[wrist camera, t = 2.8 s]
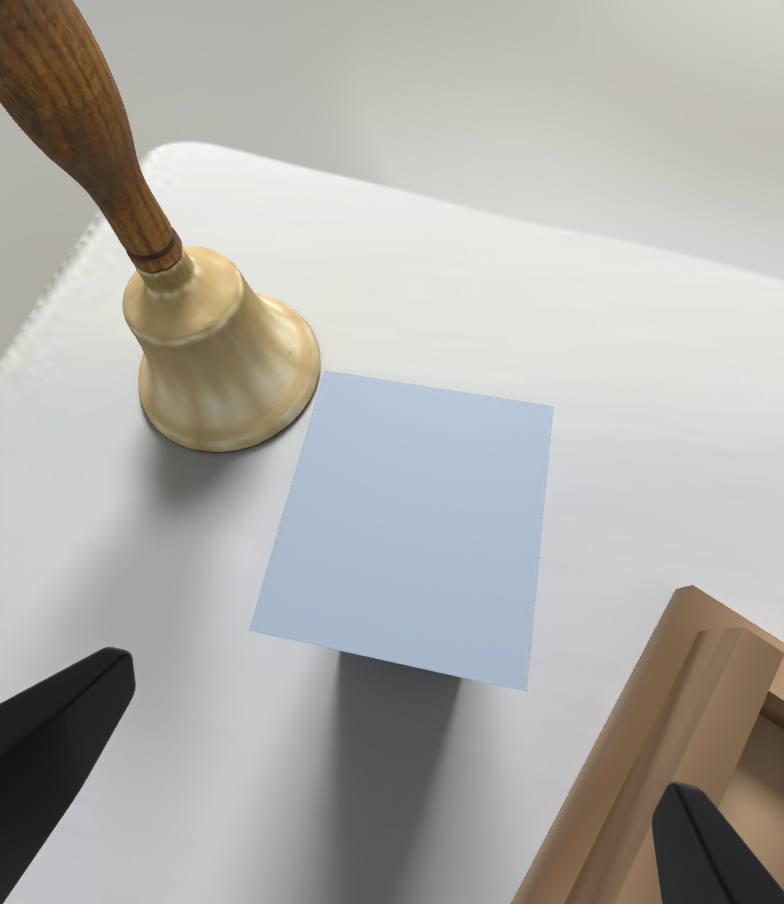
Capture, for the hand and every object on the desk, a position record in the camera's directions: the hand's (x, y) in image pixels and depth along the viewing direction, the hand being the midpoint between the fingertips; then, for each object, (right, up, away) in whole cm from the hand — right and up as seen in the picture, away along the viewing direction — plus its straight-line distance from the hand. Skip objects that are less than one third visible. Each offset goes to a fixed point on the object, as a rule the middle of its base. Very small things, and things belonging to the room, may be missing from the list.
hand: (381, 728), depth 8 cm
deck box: (+1, -1, +11) cm, 11 cm away
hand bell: (-7, +8, +15) cm, 19 cm away
